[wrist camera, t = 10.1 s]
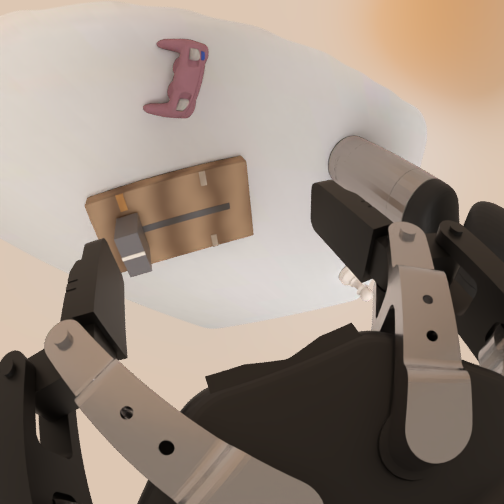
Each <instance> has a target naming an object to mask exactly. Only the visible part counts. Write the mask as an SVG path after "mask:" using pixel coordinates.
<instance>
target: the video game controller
mask: <svg viewBox="0 0 504 504" xmlns="http://www.w3.org/2000/svg"><path fill="white" fill-rule="evenodd" d="M157 46H158V47H160V48H163V49H167V50H171V51H175V52H178V53H180V57H179V58H177V59H176V60H175V62H174V64H173V72H174V77H173V82H171V83H170V85H169V87H168V91H167V93H168V97H169V98H170V100H169V102H168V103H153V104H147V105H144V106H143V109H144V111H145V112H147V113H150V114H154V115H158V116H162V117H170V118H188V117H190V116H191V114H192V113H193V111H194V109H195V104H196V99H197V96H198V93H199V90H200V87H201V83H202V79H203V74H204V68H205V63H206V61H207V58H208V47H207V46H206V45H205V44H202V43H199V42H196V41H193V40H188V39H163V40H160V41H158V42H157Z"/></svg>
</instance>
